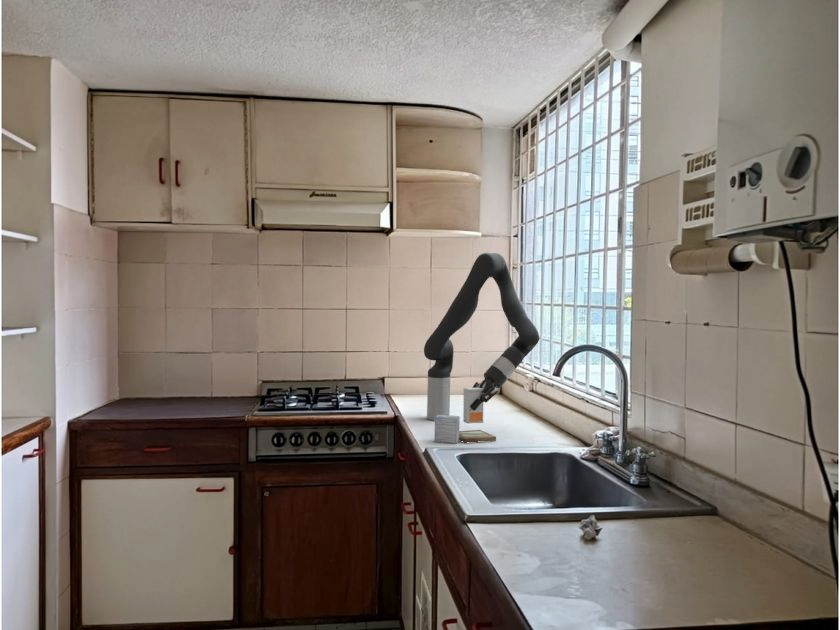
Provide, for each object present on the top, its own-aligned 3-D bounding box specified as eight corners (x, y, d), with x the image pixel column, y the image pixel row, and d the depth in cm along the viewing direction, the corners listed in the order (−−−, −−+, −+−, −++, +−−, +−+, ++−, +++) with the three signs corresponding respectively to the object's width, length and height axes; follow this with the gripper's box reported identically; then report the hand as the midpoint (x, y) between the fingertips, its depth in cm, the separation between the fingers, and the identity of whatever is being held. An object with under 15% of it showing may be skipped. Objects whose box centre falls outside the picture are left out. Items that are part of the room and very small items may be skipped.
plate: (449, 435, 219) (450, 431, 219) (479, 433, 223) (480, 429, 223) (464, 443, 208) (464, 438, 208) (496, 441, 212) (496, 436, 212)
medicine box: (459, 441, 211) (460, 416, 211) (456, 443, 207) (457, 418, 207) (437, 439, 213) (437, 414, 213) (434, 442, 209) (434, 416, 209)
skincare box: (468, 424, 212) (467, 389, 212) (463, 422, 216) (462, 388, 216) (484, 422, 214) (483, 388, 214) (479, 421, 218) (478, 387, 218)
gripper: (483, 363, 224) (453, 397, 220) (503, 366, 211) (471, 403, 207) (496, 377, 226) (466, 411, 222) (516, 381, 213) (484, 418, 209)
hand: (468, 407), depth 215 cm, fingers closed on skincare box, 4 cm apart
